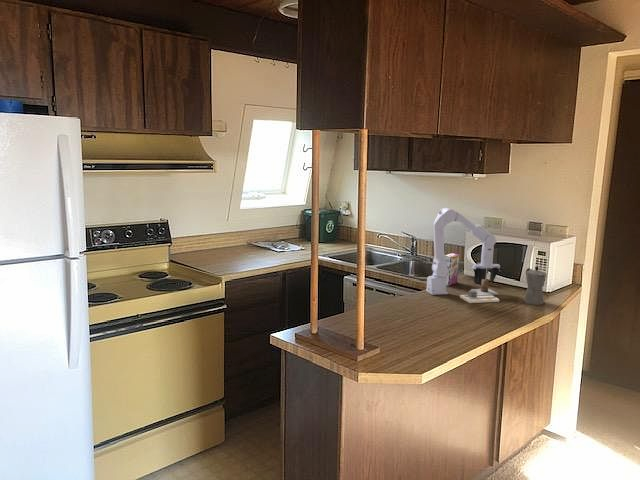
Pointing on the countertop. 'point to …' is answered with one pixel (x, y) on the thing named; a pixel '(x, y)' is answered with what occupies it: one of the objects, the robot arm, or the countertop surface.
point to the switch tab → (472, 293)
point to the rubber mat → (485, 292)
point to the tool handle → (484, 285)
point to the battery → (483, 275)
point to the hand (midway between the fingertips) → (485, 282)
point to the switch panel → (480, 298)
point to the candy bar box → (452, 268)
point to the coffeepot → (534, 286)
